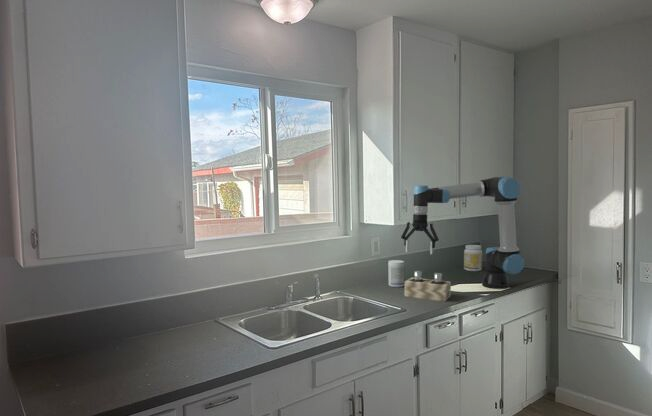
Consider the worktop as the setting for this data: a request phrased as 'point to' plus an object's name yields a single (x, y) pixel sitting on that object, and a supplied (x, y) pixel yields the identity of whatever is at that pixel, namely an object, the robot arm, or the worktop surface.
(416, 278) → the outer peg
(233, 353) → the worktop surface
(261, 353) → the worktop surface
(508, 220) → the robot arm
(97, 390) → the worktop surface
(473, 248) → the supplement tub
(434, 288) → the block
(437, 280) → the inner peg
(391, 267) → the supplement tub
